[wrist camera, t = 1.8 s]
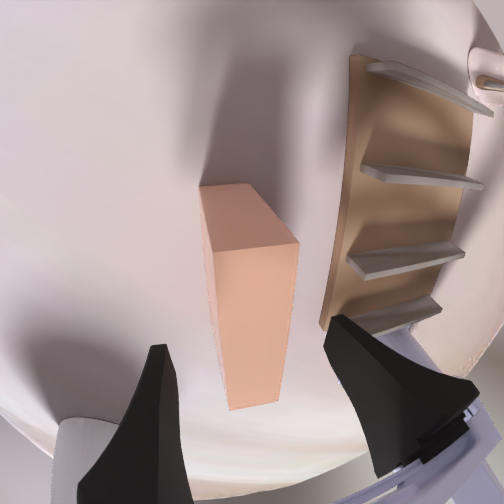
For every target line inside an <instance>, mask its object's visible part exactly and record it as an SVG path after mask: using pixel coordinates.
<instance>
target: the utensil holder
mask: <svg viewBox="0 0 504 504" xmlns="http://www.w3.org/2000/svg"><path fill="white" fill-rule="evenodd" d="M118 427H119V425H118V424H114V423H110V422H106V421H102V420H97V419H91V418H82V417H72V418H66V419H64V420H62V421H61V422H60V425H59V429H58V434H57V440H56V445H55V451H54V461H53V469H52V484H51V504H77V496H76V495H77V486H78V483H79V481H80V480H81V479H82V478H83V477H84V476H85V474H86V473H87V472H88V471H89V470H90V469H91V467H92V466H93V465H94V464H95V462H96V461H97V459H98V458H99V457H100V455H101V454H102V452H103V451H104V450H105V448H106V447H107V445H108V444H109V442H110V440H111V439H112V437H113V435H114V434H115V432H116V430H117V429H118Z"/></svg>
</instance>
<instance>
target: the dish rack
mask: <svg viewBox="0 0 504 504" xmlns="http://www.w3.org/2000/svg"><path fill="white" fill-rule="evenodd" d="M473 112H474V113H478V114H482V115H486V116H490V117H493V114H494V112H493V111H492V110H490V109H489V108H487V107H486V106H484V105H482V104H481V103H479V102H478V101H476V100H474V99H473V98H471V97H469V96H468V95H466V94H464V93H462V92H460V91H459V90H457V89H455V88H453V87H451V86H449V85H447V84H445V83H443V82H441V81H439V80H437V79H435V78H433V77H431V76H429V75H426V74H424V73H422V72H420V71H417V70H415V69H413V68H410V67H408V66H405V65H403V64H400V63H397V62H395V61H388V62H382V61H379V60H376V59H373V58H369V57H366V56H362V55H353V56H350V74H349V109H348V127H347V142H346V154H345V165H344V175H343V184H342V193H341V201H340V209H339V216H338V223H337V230H336V236H335V243H334V249H333V255H332V261H331V266H330V272H329V277H328V282H327V288H326V293H325V298H324V302H323V307H322V312H321V316H320V321H319V325H320V326H321V328H322V330H323V331H328V327H329V323H330V320H331V317H332V316H336V315H340V314H344V315H345V316H346V317H348V318H349V319H351V320H352V321H353V322H355V323H356V324H357V325H359V326H360V327H361V328H363V329H364V330H365V331H367V332H368V333H369V334H371V335H372V336H373V337H378V336H381V335H384V334H387V333H390V332H393V331H395V330H398V329H401V328H403V327H406V326H409V325H411V324H414V323H416V322H419V321H422V320H424V319H426V318H429V317H431V316H434V315H436V314H438V313H441V311H442V308H441V307H440V306H439V305H438V304H437V303H436V302H435V301H434V300H433V299H432V298H431V297H430V294H431V292H432V289H433V287H434V284H435V282H436V279H437V277H438V274H439V271H440V269H441V266H442V263H445V262H449V261H453V260H457V259H461V258H464V256H465V252H464V251H463V250H461V249H460V248H459V247H457V246H456V245H454V244H453V243H452V242H450V239H451V235H452V232H453V229H454V225H455V221H456V218H457V214H458V210H459V206H460V202H461V197H462V193H463V188H466V189H475V190H484V184H482V183H480V182H478V181H475V180H473V179H471V178H469V177H467V176H466V172H467V166H468V160H469V153H470V145H471V136H472V125H473Z"/></svg>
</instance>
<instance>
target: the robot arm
mask: <svg viewBox="0 0 504 504" xmlns="http://www.w3.org/2000/svg"><path fill="white" fill-rule="evenodd" d="M410 326H411V325H409V326H406V327H403V328H401V329H398V330H395V331H393V332H390V333H387V334H384V335H381V336H378V337H373V336H372V335H371V334H369V333H368V332H367V331H365V330H364V329H363V328H361V327H360V326H359V325H357V324H356V323H355V322H353V321H352V320H351V319H349V318H348V317H346V316H345V315H344V314H340V315H336V316H332V317H331V320H330V323H329V327H328V331H327V335H326V338H325V342H324V345H323V347H324V350H325V352H326V355H327V357H328V360H329V362H330V365H331V367H332V368H333V370H334V372H335V374H336V376H337V377H338V383H339V384H342V386H343V388H344V390H345V391H346V393H347V395H348V397H349V398H350V400H351V402H352V404H353V406H354V408H355V411H356V413H357V416H358V418H359V421H360V423H361V426H362V429H363V431H364V434H365V437H366V440H367V444H368V447H369V450H370V454H371V458H372V462H373V466H374V472H375V474H376V476H377V478H378V479H379V478H380V477H382V476H384V475H386V474H388V473H390V472H392V471H393V472H394V474H392V475H390V476H388V477H387V478H385V479H383V480H381V481H379V482H377V483H375V484H373V485H371V486H369V487H367V488H365V489H363V490H361V491H359V492H356V493H354V494H352V495H350V496H347V497H345V498H343V499H340V500H338V501H335V502H332V503H330V504H362V503H364V502H366V501H368V500H370V499H372V498H374V497H376V496H378V495H380V494H382V493H384V492H386V491H388V490H389V489H391V488H393V487H395V486H396V485H398V486H397V489H396V490H395V491H393V492H391V493H389V494H387V495H385V496H383V497H381V498H379V499H377V500H375V501H374V502H372V503H370V504H445V503H446V502H447V501H448V500H449V499H450V498H451V500H452V501H453V502H454V504H504V488H503V487H502V485H501V483H500V482H499V480H498V478H497V477H496V475H495V474H494V472H493V471H492V469H491V468H490V466H489V464H488V463H487V462H486V460H485V458H486V457H487V456H488V455H489V453H490V452H491V451H492V450H493V449H494V447H495V446H496V445H497V444H498V443H499V442H500V441H501V439H502V437H501V435H500V434H499V432H498V431H497V429H496V428H495V426H494V422H493V420H492V418H491V417H490V415H489V414H488V411H487V409H486V408H485V406H484V405H483V403H482V402H481V400H480V399H479V397H478V396H479V394H480V392H479V391H478V389H477V388H476V387H475V385H474V384H473V383H472V381H470V380H464V378H463V377H462V376H455V375H454V376H449V375H445V374H443V373H442V372H441V371H440V369H439V368H438V367H437V365H436V364H435V363H434V362H433V360H432V359H431V358H430V357H429V355H428V354H427V353H426V352H425V350H424V349H423V348H422V347H421V345H420V344H419V343H418V342H417V341H416V339H415V338H414V337H413V336H412V335H411V333H410V332H409V331H408V330H409V328H410ZM76 496H77V504H194V502H193V498H192V495H191V491H190V487H189V483H188V479H187V474H186V470H185V465H184V460H183V455H182V449H181V442H180V425H179V396H178V387H177V379H176V372H175V369H174V366H173V363H172V360H171V357H170V354H169V351H168V348H167V345H166V344H159V345H152V346H151V347H150V349H149V353H148V357H147V360H146V363H145V366H144V369H143V372H142V375H141V377H140V380H139V383H138V385H137V388H136V391H135V393H134V395H133V398H132V400H131V402H130V405H129V407H128V409H127V411H126V413H125V415H124V417H123V419H122V421H121V423H120V425H119V427H118V429H117V430H116V432H115V434H114V435H113V437H112V439H111V440H110V442H109V444H108V445H107V447H106V448H105V450H104V451H103V452H102V454H101V455H100V457H99V458H98V459H97V461H96V462H95V464H94V465H93V466H92V467H91V469H90V470H89V471H88V472H87V473H86V474H85V476H84V477H83V478H82V479H81V480H80V481H79V483H78V486H77V495H76Z"/></svg>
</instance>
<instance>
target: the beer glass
mask: <svg viewBox="0 0 504 504" xmlns="http://www.w3.org/2000/svg"><path fill="white" fill-rule="evenodd" d="M468 70H469V76H470V81H471V84H472V87H473V90H474V92H475V94H476V96H477V97H478V99H479V100H480V101H481V102H482V103H483V104H486V105H502V106H504V53H499V52H495V51H491V50H488V49H484V48H481V47H473V48H472V49H471V50H470V53H469V56H468Z"/></svg>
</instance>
